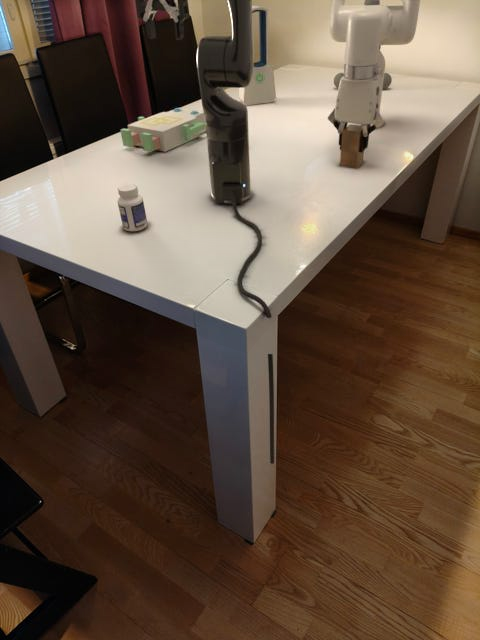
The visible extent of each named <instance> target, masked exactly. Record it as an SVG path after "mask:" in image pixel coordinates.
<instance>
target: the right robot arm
mask: <svg viewBox="0 0 480 640" xmlns="http://www.w3.org/2000/svg"><path fill="white" fill-rule="evenodd" d="M400 1H401V2H402V5H384V4H380V5H364V4H357V5H356V4H354V5H352V4H351V5H345V2H346V0H332V4H331V11H330V17H329V18H330V19H329V34H330V37H331V39H332V40H333V41H335V42H336V43H345V50H344V51H345V52H344V64H343V73H344V76H343V77H342V78H341V80H340V83H339V88H337V93H336V98H335V104H334V108H333V109H332V111H331V112H330V113H329V114H328V116H327V120H328V121H329V122H330V123H331V124H333V126H334V128H335V129H336V130H337V134H338V135H339V136H338V146H339V150H340V151H341V144H342V132H343V129H345V128H346V127H347V126H348V125H350V124H351V125H360V126H362V131H363V134H362V136H361V140H360V150H359V152H361V153H362V152H363V151H364V152H365V150H366V149H368V146H369V140H370V134H372V133H373V132H374V131H375V130H377V129H379V128H380V127H382V126H383V125H384V124H385V120H384V118H383V116H382V115H381V106H382V105H381V104H382V103H381V102H382V95H383V89H382V88H383V80H384V73H386V72H385V71H386V59H385V56H384V54H383V52H382V51H381V49H380V50H379V46H380V45H381V46H404V45H408V44H410V43H411V42H413V40H414V38H415V35H416V32H417V26H418V19H419V11H420V4H421V0H400Z"/></svg>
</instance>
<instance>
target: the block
mask: <svg viewBox="0 0 480 640" xmlns="http://www.w3.org/2000/svg"><path fill="white" fill-rule="evenodd" d="M362 134H363V131H362V126H360V125H351V124H350V125H348V126H347V127H346V128H345V129H343V132H342V144H341V150H340V159H339V167H345V168H351V169H358V167H360V165H361V164H363V162H364V156H365V150H364V151H363V152H362V153H361V152H359V150H360V140H361V136H362Z"/></svg>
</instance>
